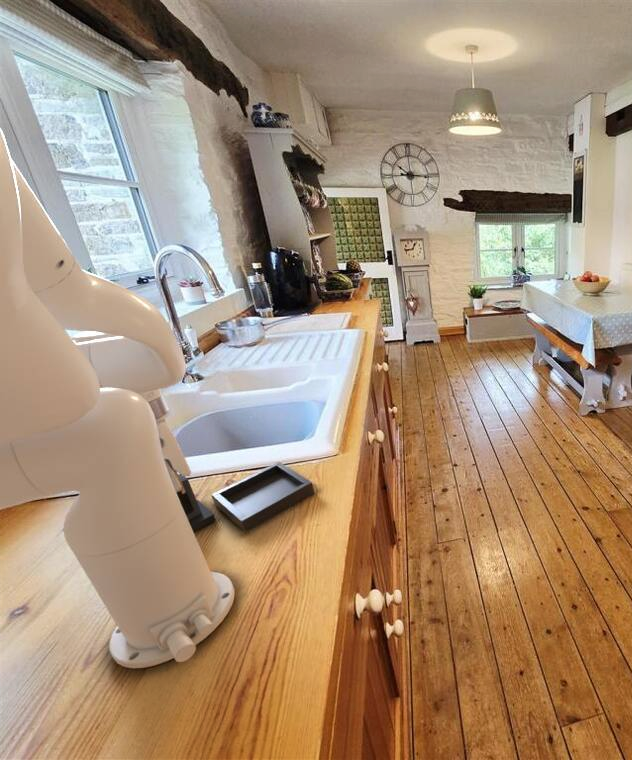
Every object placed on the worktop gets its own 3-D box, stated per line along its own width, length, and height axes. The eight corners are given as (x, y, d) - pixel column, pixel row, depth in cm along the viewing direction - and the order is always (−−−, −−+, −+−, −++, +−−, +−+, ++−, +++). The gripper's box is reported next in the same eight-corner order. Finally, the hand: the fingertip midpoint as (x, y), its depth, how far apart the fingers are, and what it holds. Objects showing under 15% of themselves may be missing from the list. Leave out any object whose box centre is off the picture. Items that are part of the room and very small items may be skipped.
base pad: (314, 492, 75) (311, 482, 74) (245, 532, 66) (241, 521, 65) (281, 471, 82) (278, 461, 81) (214, 504, 73) (210, 494, 72)
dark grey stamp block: (215, 520, 69) (199, 479, 66) (166, 546, 64) (145, 504, 61) (199, 504, 73) (183, 466, 70) (151, 528, 68) (131, 488, 64)
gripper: (184, 415, 58) (224, 517, 65) (148, 391, 67) (186, 483, 75) (117, 438, 53) (168, 547, 60) (87, 409, 62) (134, 506, 69)
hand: (178, 510), depth 67 cm, fingers closed on dark grey stamp block, 3 cm apart
